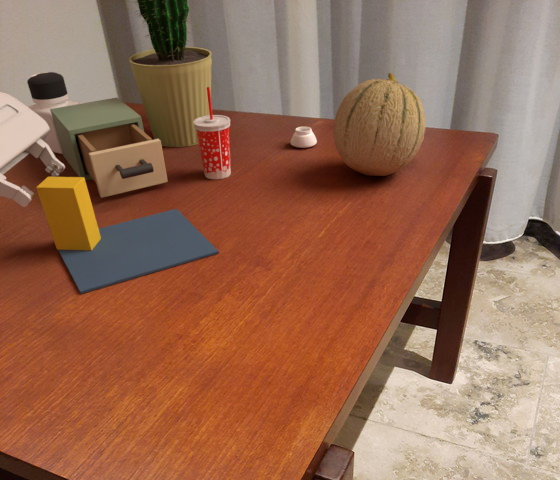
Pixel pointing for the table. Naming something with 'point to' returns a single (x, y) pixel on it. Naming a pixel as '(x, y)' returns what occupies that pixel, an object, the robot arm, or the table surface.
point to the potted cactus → (171, 74)
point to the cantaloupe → (379, 127)
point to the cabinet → (89, 125)
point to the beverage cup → (214, 143)
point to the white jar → (303, 137)
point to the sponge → (69, 212)
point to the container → (49, 101)
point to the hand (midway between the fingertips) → (46, 186)
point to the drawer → (122, 159)
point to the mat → (137, 250)
